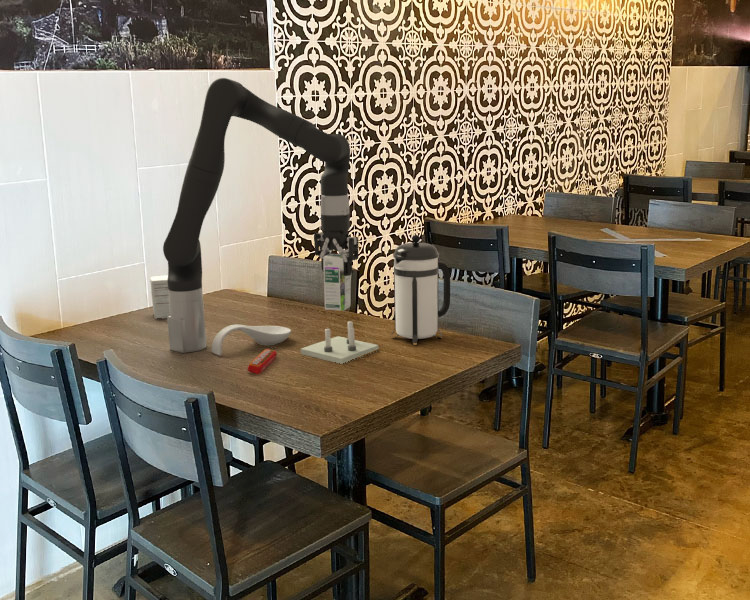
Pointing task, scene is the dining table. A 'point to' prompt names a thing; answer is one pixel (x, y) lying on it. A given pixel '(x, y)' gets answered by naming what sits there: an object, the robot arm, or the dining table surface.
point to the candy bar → (262, 361)
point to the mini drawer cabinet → (160, 296)
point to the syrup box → (336, 283)
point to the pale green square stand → (339, 347)
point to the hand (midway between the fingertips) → (336, 273)
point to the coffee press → (418, 290)
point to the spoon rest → (252, 335)
